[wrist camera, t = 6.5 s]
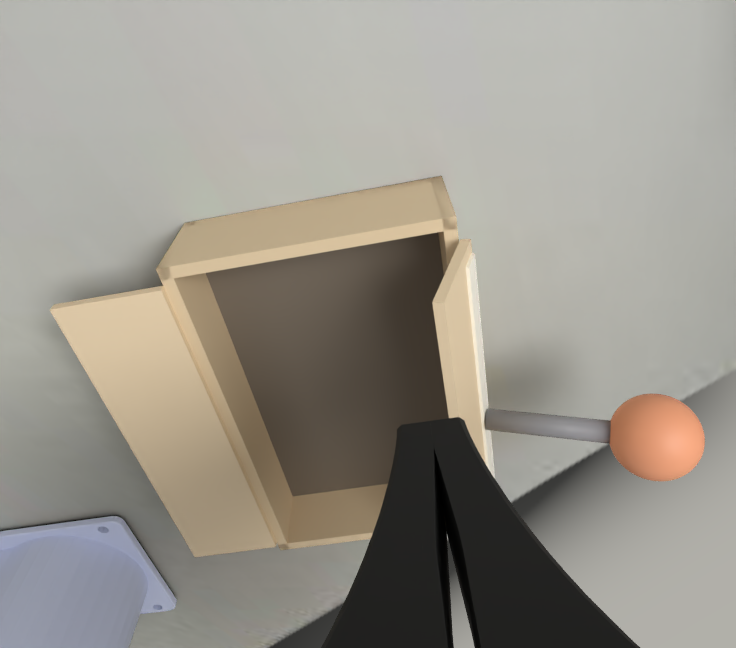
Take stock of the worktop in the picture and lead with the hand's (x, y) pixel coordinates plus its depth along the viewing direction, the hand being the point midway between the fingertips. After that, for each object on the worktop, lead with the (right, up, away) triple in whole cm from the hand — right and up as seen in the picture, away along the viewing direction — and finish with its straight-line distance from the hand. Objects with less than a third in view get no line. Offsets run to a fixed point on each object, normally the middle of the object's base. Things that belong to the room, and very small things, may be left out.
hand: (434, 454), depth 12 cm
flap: (+2, -1, +7) cm, 7 cm away
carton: (-4, +1, +11) cm, 12 cm away
